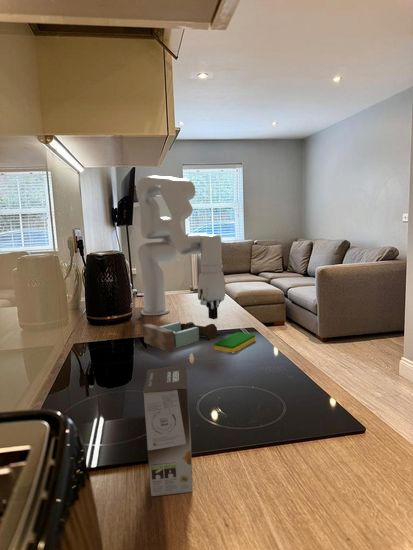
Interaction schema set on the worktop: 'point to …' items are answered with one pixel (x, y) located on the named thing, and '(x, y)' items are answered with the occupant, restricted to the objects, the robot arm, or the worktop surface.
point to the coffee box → (168, 430)
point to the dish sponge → (234, 342)
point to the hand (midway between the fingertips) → (213, 318)
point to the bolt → (202, 330)
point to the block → (182, 334)
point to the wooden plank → (159, 337)
